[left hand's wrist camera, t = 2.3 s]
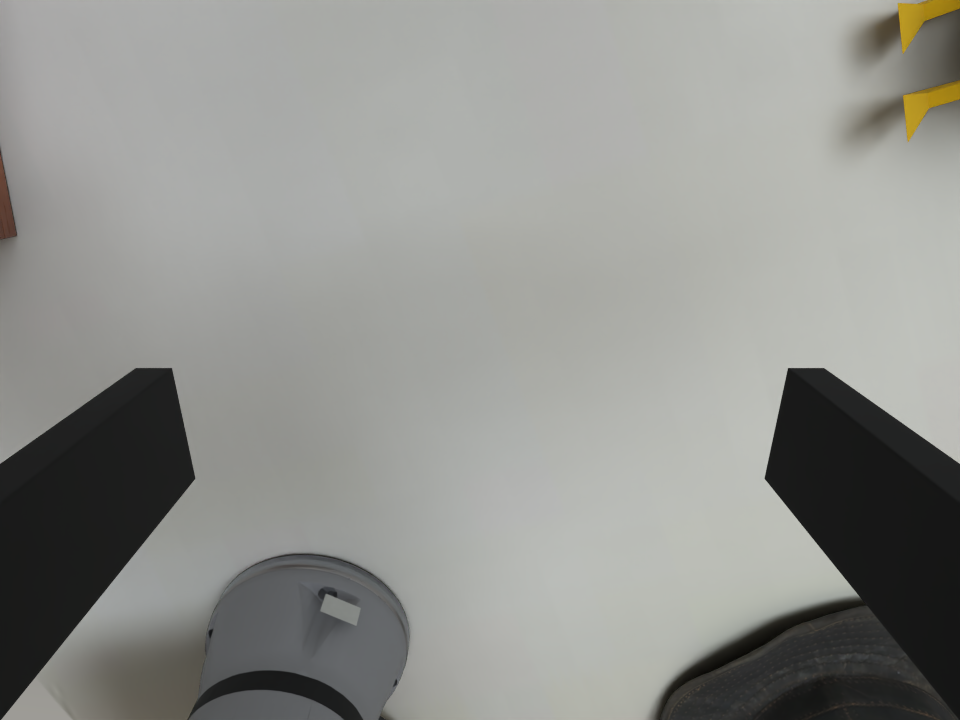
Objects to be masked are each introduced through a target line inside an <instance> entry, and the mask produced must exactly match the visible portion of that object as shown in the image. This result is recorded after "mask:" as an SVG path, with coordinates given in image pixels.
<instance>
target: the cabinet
mask: <svg viewBox="0 0 960 720" xmlns="http://www.w3.org/2000/svg"><path fill="white" fill-rule="evenodd" d="M16 235H17V234H16V229H15V224H14V219H13V214H12V209H11V204H10V199H9V194H8V189H7V184H6V179H5V174H4V169H3V164H2V159H1V154H0V239H4V238H9V237H13V236H16Z"/></svg>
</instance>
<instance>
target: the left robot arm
mask: <svg viewBox="0 0 960 720" xmlns="http://www.w3.org/2000/svg"><path fill="white" fill-rule="evenodd" d="M194 480H195V475H194V470H193V465H192V460H191V456H190V451H189V446H188V442H187V437H186V432H185V428H184V423H183V418H182V414H181V409H180V404H179V399H178V395H177V390H176V385H175V381H174V376H173V371H172V368H136V369H134V370H133V371H131V372H130V373H128V374H127V375H126V376H124V377H123V378H121V379H120V380H119V381H117V382H116V383H114V384H113V385H111V386H110V387H109V388H107V389H106V390H104V391H103V392H102V393H100V394H99V395H97V396H96V397H94V398H93V399H92V400H90V401H89V402H87V403H86V404H85V405H83V406H82V407H80V408H79V409H77V410H76V411H75V412H73V413H72V414H70V415H69V416H68V417H66V418H65V419H63V420H62V421H60V422H59V423H58V424H56V425H55V426H53V427H52V428H51V429H49V430H48V431H46V432H45V433H43V434H42V435H41V436H39V437H38V438H36V439H35V440H33V441H32V442H31V443H29V444H28V445H26V446H25V447H24V448H22V449H21V450H19V451H18V452H16V453H15V454H14V455H12V456H11V457H9V458H8V459H7V460H5V461H4V462H2V463H1V464H0V720H1V719H2V718H3V717H4V715H5V714H6V713H7V712H8V710H9V709H10V708H11V707H12V705H13V704H14V703H15V702H16V700H17V699H18V698H19V697H20V695H21V694H22V693H23V692H24V691H25V689H26V688H27V687H28V686H29V684H30V683H31V682H32V681H33V679H34V678H35V677H36V676H37V674H38V673H39V672H40V671H41V669H42V668H43V667H44V666H45V665H46V663H47V662H48V661H49V660H50V658H51V657H52V656H53V655H54V653H55V652H56V651H57V650H58V648H59V647H60V646H61V645H62V643H63V642H64V641H65V640H66V638H67V637H68V636H69V635H70V633H71V632H72V631H73V630H74V629H75V627H76V626H77V625H78V624H79V622H80V621H81V620H82V619H83V617H84V616H85V615H86V614H87V612H88V611H89V610H90V609H91V607H92V606H93V605H94V604H95V602H96V601H97V600H98V599H99V598H100V596H101V595H102V594H103V593H104V591H105V590H106V589H107V588H108V586H109V585H110V584H111V583H112V581H113V580H114V579H115V578H116V576H117V575H118V574H119V573H120V571H121V570H122V569H123V568H124V566H125V565H126V564H127V563H128V562H129V560H130V559H131V558H132V557H133V555H134V554H135V553H136V552H137V550H138V549H139V548H140V547H141V545H142V544H143V543H144V542H145V540H146V539H147V538H148V537H149V535H150V534H151V533H152V532H153V531H154V529H155V528H156V527H157V526H158V524H159V523H160V522H161V521H162V519H163V518H164V517H165V516H166V514H167V513H168V512H169V511H170V509H171V508H172V507H173V506H174V504H175V503H176V502H177V501H178V499H179V498H180V497H181V496H182V495H183V493H184V492H185V491H186V490H187V488H188V487H189V486H190V485H191V483H192V482H193V481H194ZM765 480H766V481H767V482H768V483H769V485H770V486H771V487H772V488H773V490H774V491H775V492H776V493H777V495H778V496H779V497H780V498H781V499H782V501H783V502H784V503H785V504H786V506H787V507H788V508H789V509H790V511H791V512H792V513H793V514H794V516H795V517H796V518H797V519H798V521H799V522H800V523H801V524H802V526H803V527H804V528H805V529H806V531H807V532H808V533H809V534H810V535H811V537H812V538H813V539H814V540H815V542H816V543H817V544H818V545H819V547H820V548H821V549H822V550H823V552H824V553H825V554H826V555H827V557H828V558H829V559H830V560H831V562H832V563H833V564H834V565H835V566H836V568H837V569H838V570H839V571H840V573H841V574H842V575H843V576H844V578H845V579H846V580H847V581H848V583H849V584H850V585H851V586H852V588H853V589H854V590H855V591H856V593H857V594H858V595H859V596H860V598H861V599H862V600H863V601H864V602H865V604H866V605H867V606H868V607H869V609H870V610H871V611H872V612H873V614H874V615H875V616H876V617H877V619H878V620H879V621H880V622H881V624H882V625H883V626H884V627H885V629H886V630H887V631H888V632H889V633H890V635H891V636H892V637H893V638H894V640H895V641H896V642H897V643H898V645H899V646H900V647H901V648H902V650H903V651H904V652H905V653H906V655H907V656H908V657H909V658H910V660H911V661H912V662H913V663H914V665H915V666H916V667H917V668H918V669H919V671H920V672H921V673H922V674H923V676H924V677H925V678H926V679H927V681H928V682H929V683H930V684H931V686H932V687H933V688H934V689H935V691H936V692H937V693H938V694H939V696H940V697H941V698H942V699H943V700H944V702H945V703H946V704H947V705H948V707H949V708H950V709H951V710H952V712H953V713H954V714H955V715H956V717H957V718H958V719H959V720H960V464H959V463H958V462H956V461H955V460H953V459H952V458H951V457H949V456H948V455H946V454H945V453H944V452H942V451H941V450H939V449H938V448H936V447H935V446H934V445H932V444H931V443H929V442H928V441H927V440H925V439H924V438H922V437H921V436H919V435H918V434H917V433H915V432H914V431H912V430H911V429H909V428H908V427H907V426H905V425H904V424H902V423H901V422H900V421H898V420H897V419H895V418H894V417H892V416H891V415H890V414H888V413H887V412H885V411H884V410H883V409H881V408H880V407H878V406H877V405H875V404H874V403H873V402H871V401H870V400H868V399H867V398H866V397H864V396H863V395H861V394H860V393H858V392H857V391H856V390H854V389H853V388H851V387H850V386H849V385H847V384H846V383H844V382H843V381H841V380H840V379H839V378H837V377H836V376H834V375H833V374H832V373H830V372H829V371H827V370H826V369H824V368H788V371H787V376H786V381H785V385H784V390H783V395H782V399H781V404H780V409H779V414H778V418H777V423H776V428H775V432H774V437H773V442H772V446H771V451H770V456H769V460H768V465H767V470H766V475H765Z"/></svg>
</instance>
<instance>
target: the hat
mask: <svg viewBox="0 0 960 720" xmlns="http://www.w3.org/2000/svg"><path fill="white" fill-rule="evenodd" d="M660 720H959V719H958V718H957V717H956V715H955V714H954V713H953V712H952V710H951V709H950V708H949V707H948V705H947V704H946V703H945V702H944V700H943V699H942V698H941V697H940V696H939V694H938V693H937V692H936V691H935V689H934V688H933V687H932V686H931V684H930V683H929V682H928V681H927V679H926V678H925V677H924V676H923V674H922V673H921V672H920V671H919V669H918V668H917V667H916V666H915V665H914V663H913V662H912V661H911V660H910V658H909V657H908V656H907V655H906V653H905V652H904V651H903V650H902V648H901V647H900V646H899V645H898V643H897V642H896V641H895V640H894V638H893V637H892V636H891V635H890V633H889V632H888V631H887V630H886V629H885V627H884V626H883V625H882V624H881V622H880V621H879V620H878V619H877V617H876V616H875V615H874V614H873V612H872V611H871V610H870V609H869V607H868V606H867V605H865V606H859V607H855V608H851V609H847V610H844V611H839V612H836V613H833V614H829V615H825V616H822V617H819V618H816V619H814V620H811V621H807V622H804V623H801V624H799V625H796V626H794V627H792V628H790V629H788V630H786V631H784V632H783V633H781V634H780V635H778V636H777V637H775V638H774V639H772V640H771V641H769V642H768V643H766V644H765V645H763V646H761V647H759V648H757V649H755V650H753V651H751V652H750V653H748V654H746V655H744V656H742V657H740V658H738V659H736V660H734V661H732V662H730V663H728V664H726V665H724V666H722V667H720V668H718V669H716V670H714V671H711V672H709V673H706V674H703V675H701V676H698V677H696V678H694V679H692V680H690V681H688V682H686V683H685V684H684V685H682V686H681V687H679V688H678V689H677V690H675V691H674V693H673V694H672V695H671V696H670V698H669V699H668V701H667V703H666V704H665V706H664V709H663V711H662V714H661V718H660Z"/></svg>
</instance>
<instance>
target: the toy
mask: <svg viewBox="0 0 960 720" xmlns="http://www.w3.org/2000/svg"><path fill="white" fill-rule="evenodd" d="M957 9H960V0H927V1H924V2H921V3H918V4H905V3H898V11H899V21H900V31H901V42H902V52H903V53H904V52H905V50H906V49H907V47H908V46H909V44H910V43H911V41H912V39H913V38H914V36H915V35H916V33H917V32H918V30H919V29H920V27H921V26H922V24H923V23H924V21H926V20H929V19H932V18H935V17H937V16H940V15H943V14H946V13H949V12H951V11H954V10H957ZM959 99H960V80H959V81H955V82H951V83H947V84H944V85H940V86H936V87H932V88H929V89H925V90H921V91H918V92H914V93H910V94H907V95H903V100H904V110H905V119H906V129H907V139H908V142H909V140H910V138H911V137H912V135H913V133H914V132H915V130H916V129H917V127H918V125H919V124H920V122H921V120H922V119H923V117H924V116H925V114H926V112H927V111H928V109H929V108H932V107H935V106H938V105H942V104H945V103H949V102H952V101H956V100H959Z"/></svg>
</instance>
